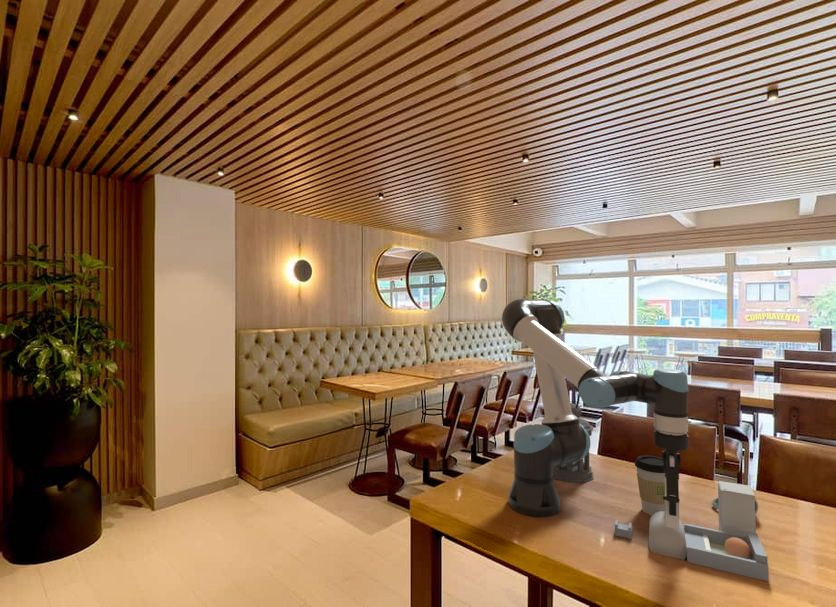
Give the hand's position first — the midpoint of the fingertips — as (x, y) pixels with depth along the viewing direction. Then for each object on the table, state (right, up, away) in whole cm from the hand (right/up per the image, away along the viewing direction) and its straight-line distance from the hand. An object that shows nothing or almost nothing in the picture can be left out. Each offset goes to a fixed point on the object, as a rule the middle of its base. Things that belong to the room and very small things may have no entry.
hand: (671, 515), depth 106 cm
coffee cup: (+6, -8, +18) cm, 20 cm away
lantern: (-9, -9, +47) cm, 49 cm away
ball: (+11, -5, -7) cm, 14 cm away
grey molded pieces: (+2, -9, -1) cm, 10 cm away
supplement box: (+20, -8, +4) cm, 22 cm away
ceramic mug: (+29, -8, +17) cm, 35 cm away
